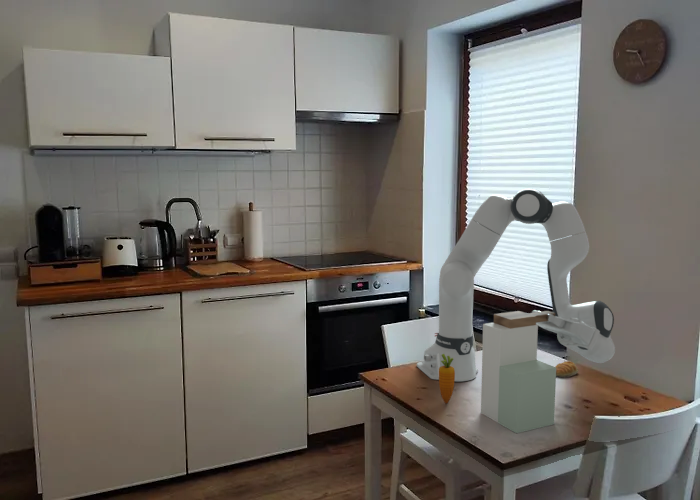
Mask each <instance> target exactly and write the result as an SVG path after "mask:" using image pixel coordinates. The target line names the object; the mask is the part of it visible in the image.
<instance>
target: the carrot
mask: <svg viewBox="0 0 700 500" xmlns="http://www.w3.org/2000/svg"><path fill="white" fill-rule="evenodd" d="M442 357H443V359H444V360H443V361H444V362H445V363H444V362H443V361H442V360H441V362H442V363H443V364H444V366H441V367H440V368H439V380H438V385H439V391H440V395H441V399H442V401H443V403H444V404H445V405H447V404H448V403H449V402H450V400H451V398H452V395H453V392H454V387H455V381H454V380H455V370H454V368H453V367H451V366H450V364H451V362H452V361H453V358H451V359H450V356H447V358H448V362H447V359H446V357H445V355H444V354H442Z"/></svg>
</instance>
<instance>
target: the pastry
mask: <svg viewBox="0 0 700 500" xmlns="http://www.w3.org/2000/svg"><path fill="white" fill-rule="evenodd" d="M555 367H556V377H561V378H567V377H572V376H575V375H576V374H578V373H579V369H578V367H577V365H576V364H575V363H574V362H573V361H570V360H569V361H562V362H561V363H558V364H556V365H555Z"/></svg>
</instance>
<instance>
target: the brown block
mask: <svg viewBox="0 0 700 500" xmlns="http://www.w3.org/2000/svg"><path fill="white" fill-rule="evenodd" d="M548 314H551V315H553V316H555V313H553V311H549V310H544V311H541V312H536V313H532V312H530V313H529V312H528V313H527V312H524V311H520V310H517V311H516V310H515V311H507V312H501V313H494V314H493V323H496V324H498V325H501V326H504V327H507V328H510V329H511V328H518V327H525V326H532V325H536V323H537V322H544V321H548V320H546V317H547V315H548Z"/></svg>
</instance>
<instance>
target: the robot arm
mask: <svg viewBox="0 0 700 500" xmlns="http://www.w3.org/2000/svg"><path fill="white" fill-rule="evenodd" d="M514 221H518V222H520V223H522V224H525V225H526V224H527V225H533V224H540V225H542V226H543V228H544V230H545V231H546V234H547V237H548V241H549V245H550V258H549V259H548V261H547V266H546V268H547V269H546V271H547V277H548V287H549V292H550V299H551V306H552V312H553V313H555V316H553V315H551V314H548V315H547V317H546V320H548V321H544V322H537V323H536V324H537V325H538V327H540V328H542V329H544V330H546V331H549V332H553V333H555V334H557V335H556V336H557V340H558V342H559V343H560V344H561V345H563V346H564V347H566V348H567V349H569V350H571V351H573V352H576V353H577V354H578V355H579V356H580V357H583V358H584V359H586V360H588V361H590V362H592V363H593V362H594V363H597V364H602V363H606V362H608V361H609V360H611V359H612V358H613V356H614V355H615V352H616V346H615V343H614V341H613V339H612V337H611V335H612V334H611V333H612V331H613V328H614V324H615V318H614V317H615V316H614V313H613V311H612V309H611V308H610V307H609V306H608V305H607V304H606V303H605V302H603V301H601V300H595V301H594V300H593V301H587V302H583V303H577V304H572V303H571V302H570V296H569V289H568V283H567V279H568V275H569V274H570V272H571V271H572V270H573V269H574V268H575V267H577V266H578V265H579V264H581V263H583V261H584V260H585V258H587V256H588V253H589V251H590V242H589V237H588V234H587V232H586V228H585V225H584V222H583V220H582V218H581V215H580V213H579V211H578V210H577V208H576V207H575V205H574V204H573V203H571V202H568V201H558V202H554V203H553V202H552V201H551V200H550V199H548V198H547V197H546V196H545V194H544V193H543V192H541V191H540V190H538V189H534V188H523V189H521V190H519V191H518V192H516V193H515V194H514V196H513V197H511V198H507V197H506V196H504V195H502V194H492V195H489V196H487V198H486V199H485V200H484V201H483V202H482V203H481V205H480V206H479V207H478V208H477V210H476V212H475V213H474V214H473V216H472V218H471V219H470V221H469V223H468V224H467V226H466V228H465V230H463V233H462V234H461V236H460V238H459V239H458V240H457V242H456V244H455V246H454V247H453V249H452V250H451V252H450V254H449V255H448V256H447V258H446V260H445V261H444V263H443V264H442V267H441V269H440V271H439V273H440V274H439V281H438V282H439V283H438V293H439V294H438V297H439V298H438V299H439V300H438V332H435V333H434V337H436V339H435V342H434V343H433V344H431V346H428V348H425V350H424V353H423V360H421V361H418V362H417V363H416V367H417V368H418V369H419V370H420V371H422V373H424V374H425V375H426V376H427V377H428V378H429V379H431V380H437V381H439V368H440V367H441V366H444V364H443V363H442V362H441V360H442V361H443V360H444V359H443V357H442V354H444V355H445V357H446V359H447V362H448V358H447V356H450V359H451V358H453V361H452V362H451V364H450V366H451V367H453V368H454V370H455V380H454V382H467V381H471V380H473V379H476V377H477V373H478V372H479V368H478V367H476V366H477V363H476V350H475V348H474V347H473V346H474V340H475V339H474V334H473V310H474V294H475V293H474V292H475V291H474V289H475V278H476V277H475V276H476V275H477V274H478V272H479V270H480V269H481V268H482V266H483V265H484V264H485V262H486V261H487V260H488V258H489V257H490V256H491V254H492V252H493V251H494V249H495V247H496V246H497V244H498V242H499V241H500V239H501V237H502V236H503V234H504V233H505V231H506V229H507V228H508V226H509V225H511V223H512V222H514ZM536 312H542V311H540V310H536V309H534V310H532V311H531V313H536ZM443 362H444V361H443ZM444 363H445V362H444Z"/></svg>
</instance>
